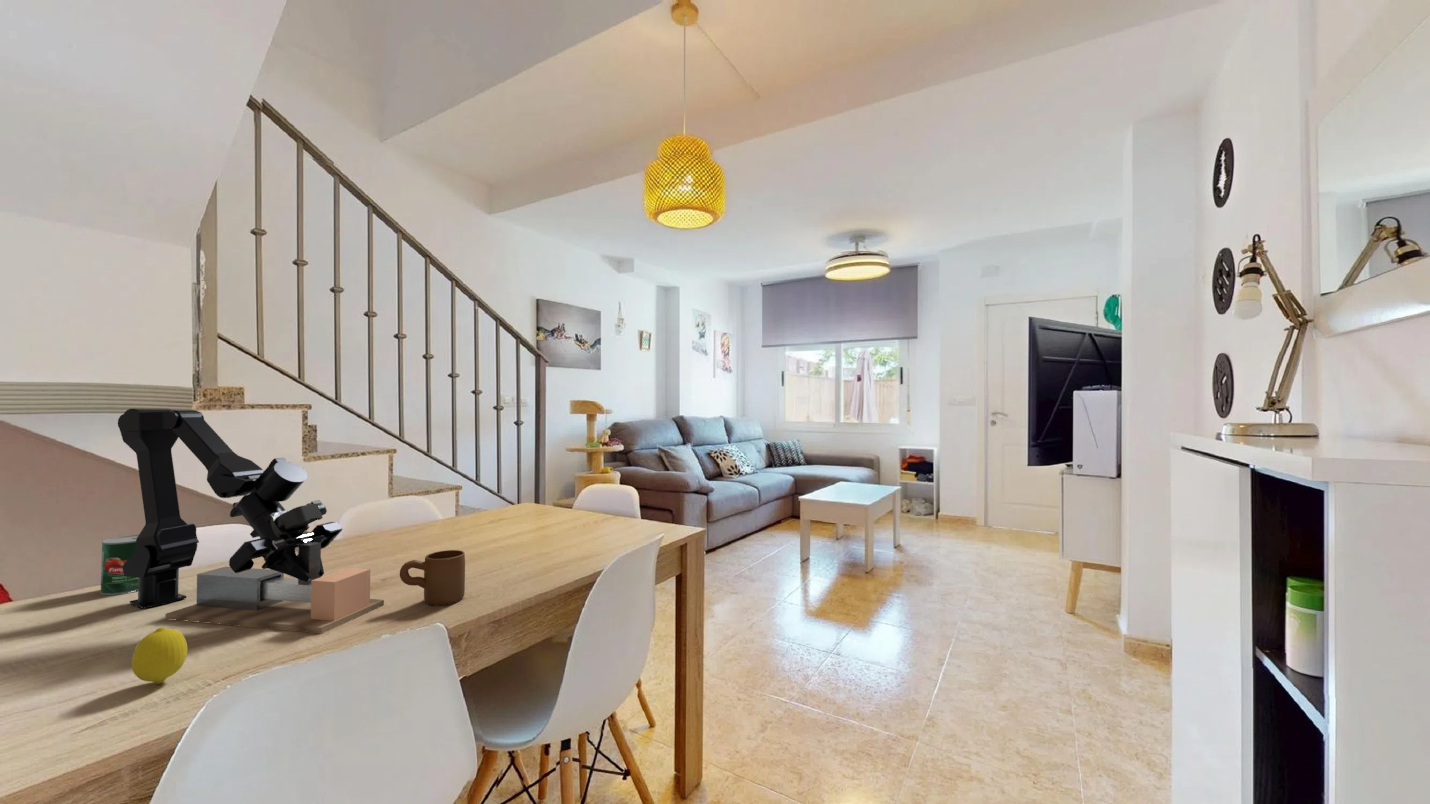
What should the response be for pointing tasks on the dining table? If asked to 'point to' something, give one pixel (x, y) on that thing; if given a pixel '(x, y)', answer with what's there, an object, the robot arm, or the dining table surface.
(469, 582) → the dining table surface
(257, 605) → the sleeve
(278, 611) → the base board
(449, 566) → the mug
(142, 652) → the lemon
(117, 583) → the canned tomato
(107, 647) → the dining table surface
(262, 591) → the tube
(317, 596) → the socket block
